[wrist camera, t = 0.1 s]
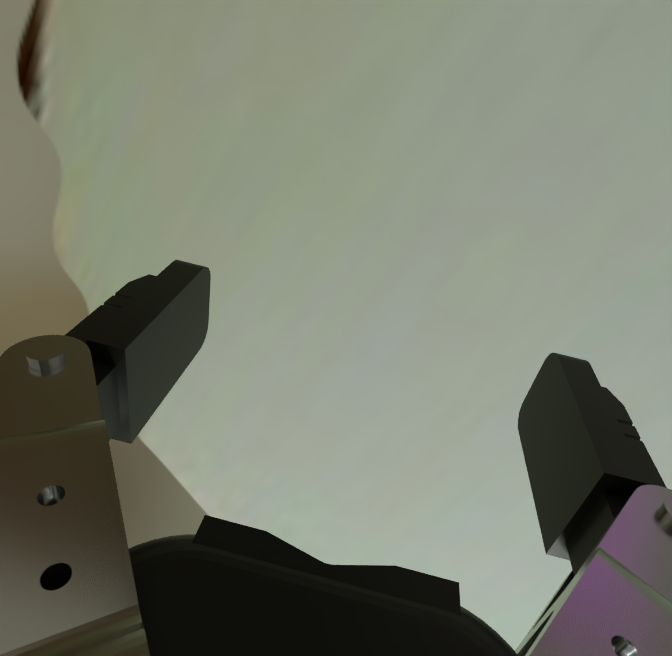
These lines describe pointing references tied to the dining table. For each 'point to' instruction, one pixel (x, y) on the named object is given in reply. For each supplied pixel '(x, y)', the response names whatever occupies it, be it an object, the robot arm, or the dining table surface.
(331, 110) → the dining table surface
